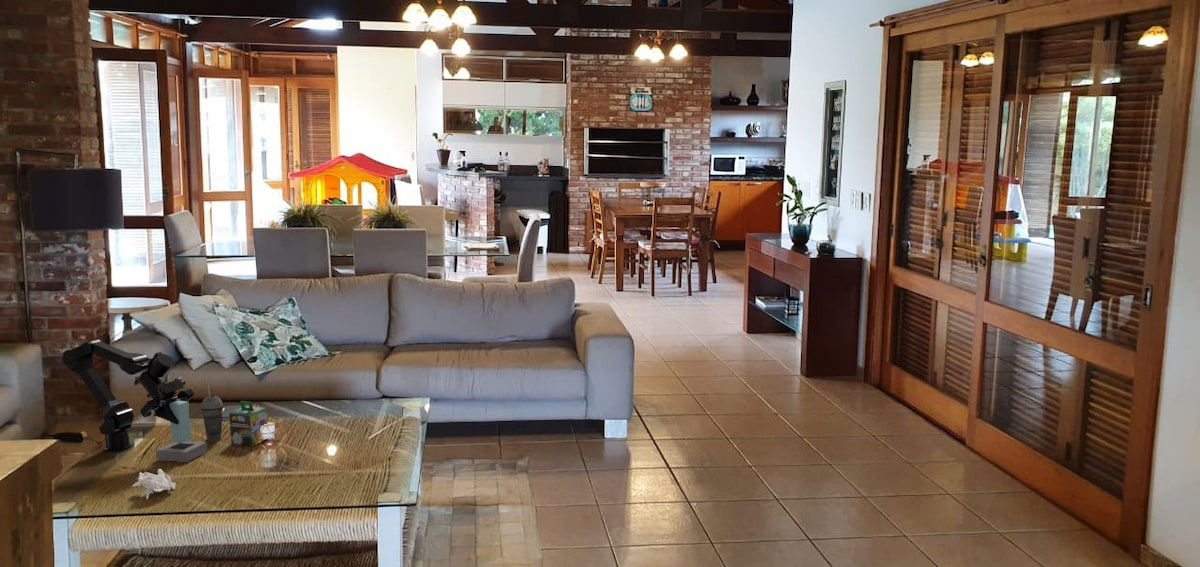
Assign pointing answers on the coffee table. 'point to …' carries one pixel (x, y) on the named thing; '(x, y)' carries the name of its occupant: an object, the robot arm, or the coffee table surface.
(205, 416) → the beverage cup
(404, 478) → the coffee table surface
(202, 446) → the socket
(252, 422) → the chalk box
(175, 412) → the peg
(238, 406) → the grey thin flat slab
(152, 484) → the white crumpled lump
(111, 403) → the robot arm
